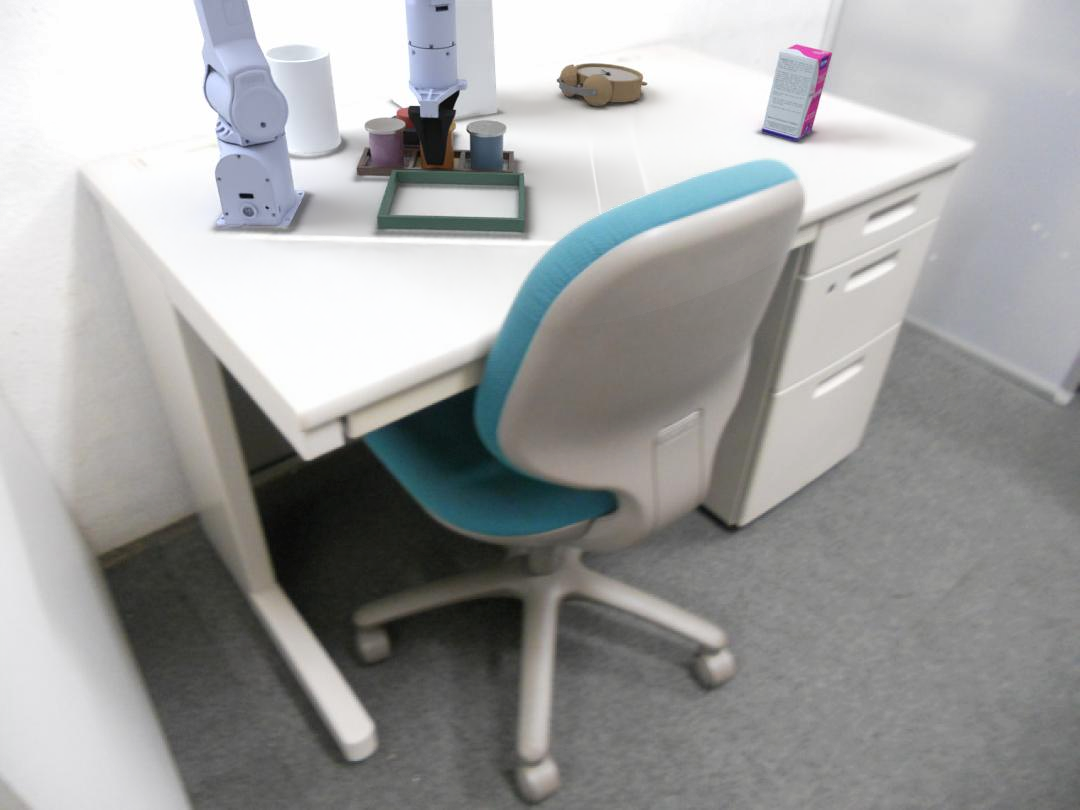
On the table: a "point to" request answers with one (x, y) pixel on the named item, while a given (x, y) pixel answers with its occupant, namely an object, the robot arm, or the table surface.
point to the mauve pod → (386, 142)
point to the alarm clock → (601, 83)
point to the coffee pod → (449, 152)
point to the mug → (306, 96)
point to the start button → (405, 117)
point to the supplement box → (796, 92)
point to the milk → (471, 57)
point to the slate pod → (486, 144)
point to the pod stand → (459, 165)
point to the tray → (451, 221)
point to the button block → (410, 137)
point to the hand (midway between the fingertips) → (437, 155)
